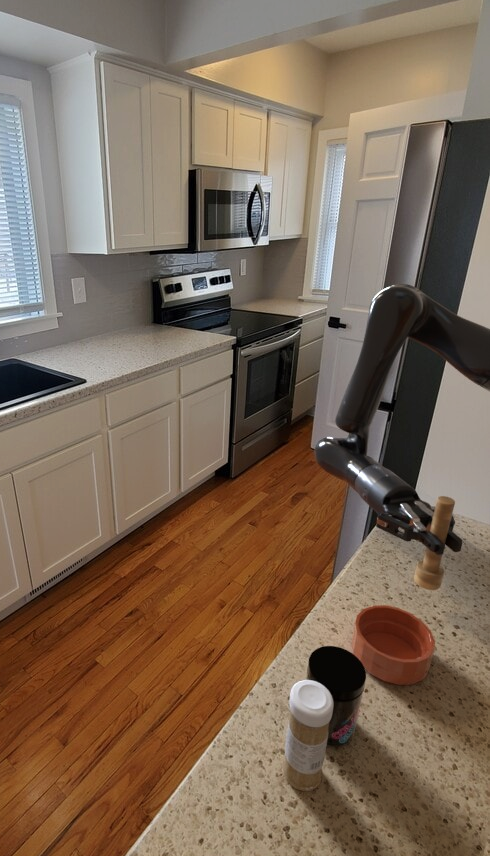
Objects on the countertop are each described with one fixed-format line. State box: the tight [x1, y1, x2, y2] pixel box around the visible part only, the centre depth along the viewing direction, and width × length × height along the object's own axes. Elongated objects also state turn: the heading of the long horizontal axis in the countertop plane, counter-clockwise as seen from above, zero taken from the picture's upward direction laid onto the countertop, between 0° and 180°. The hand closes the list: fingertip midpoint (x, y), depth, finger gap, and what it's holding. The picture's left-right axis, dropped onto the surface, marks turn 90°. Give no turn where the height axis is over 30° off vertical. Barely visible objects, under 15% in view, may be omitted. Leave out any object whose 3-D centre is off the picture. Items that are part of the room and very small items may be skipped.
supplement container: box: [306, 645, 367, 748], centre depth 61 cm, size 7×7×10 cm
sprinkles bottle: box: [282, 679, 333, 792], centre depth 55 cm, size 5×5×14 cm
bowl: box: [350, 604, 436, 686], centre depth 72 cm, size 11×11×5 cm
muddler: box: [413, 495, 456, 591], centre depth 78 cm, size 4×4×16 cm
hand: (450, 548), depth 75 cm, fingers closed on muddler, 2 cm apart
